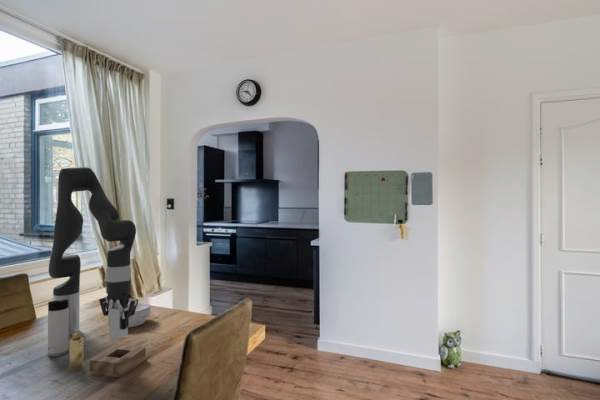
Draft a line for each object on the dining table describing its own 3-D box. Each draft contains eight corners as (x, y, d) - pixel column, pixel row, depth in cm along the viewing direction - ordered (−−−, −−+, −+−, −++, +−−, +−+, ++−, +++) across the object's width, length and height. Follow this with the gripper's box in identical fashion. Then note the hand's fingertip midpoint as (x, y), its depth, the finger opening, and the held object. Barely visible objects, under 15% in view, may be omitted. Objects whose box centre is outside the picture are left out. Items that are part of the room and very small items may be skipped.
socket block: (89, 373, 110) (89, 360, 110) (116, 356, 122) (116, 344, 122) (121, 377, 107) (121, 363, 107) (145, 359, 119) (145, 347, 119)
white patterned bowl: (118, 319, 159) (118, 302, 159) (153, 317, 162) (153, 300, 162) (108, 331, 144) (108, 313, 144) (146, 329, 147) (146, 311, 147)
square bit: (109, 338, 113) (109, 302, 113) (117, 333, 117) (117, 299, 117) (119, 339, 112) (119, 303, 112) (127, 334, 116) (127, 299, 116)
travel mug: (45, 358, 120) (46, 303, 120) (49, 351, 125) (49, 298, 125) (67, 355, 123) (67, 300, 122) (69, 347, 128) (69, 296, 128)
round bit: (66, 370, 112) (66, 335, 111) (76, 364, 115) (76, 330, 115) (76, 372, 111) (76, 336, 111) (86, 366, 115) (86, 331, 115)
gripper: (92, 280, 112) (92, 330, 112) (129, 282, 109) (129, 334, 109) (109, 275, 119) (108, 322, 119) (144, 277, 117) (144, 325, 117)
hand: (118, 328), depth 114 cm, fingers closed on square bit, 4 cm apart
